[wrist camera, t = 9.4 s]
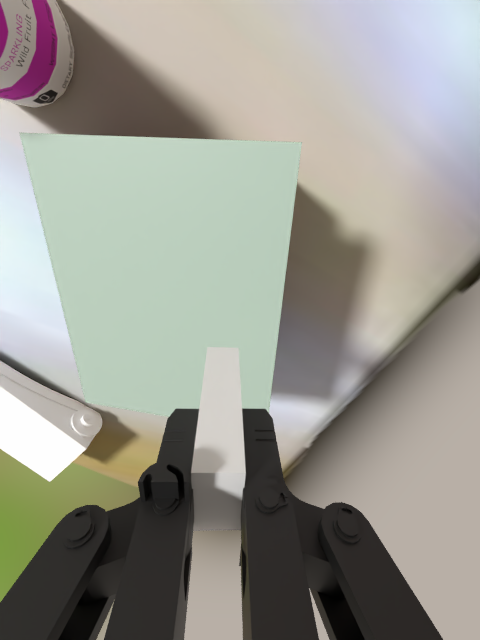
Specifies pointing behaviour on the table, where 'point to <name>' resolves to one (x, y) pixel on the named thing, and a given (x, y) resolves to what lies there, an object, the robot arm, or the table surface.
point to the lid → (166, 259)
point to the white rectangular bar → (42, 424)
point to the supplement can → (34, 52)
